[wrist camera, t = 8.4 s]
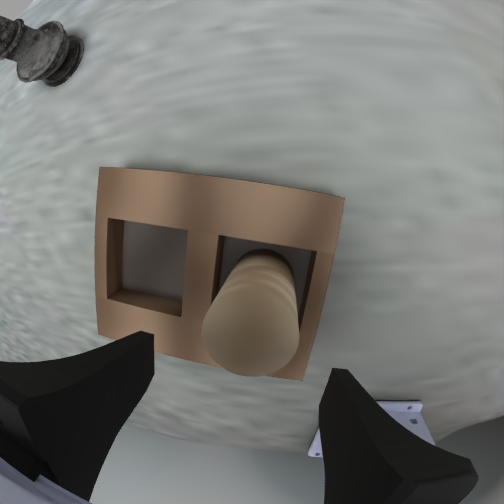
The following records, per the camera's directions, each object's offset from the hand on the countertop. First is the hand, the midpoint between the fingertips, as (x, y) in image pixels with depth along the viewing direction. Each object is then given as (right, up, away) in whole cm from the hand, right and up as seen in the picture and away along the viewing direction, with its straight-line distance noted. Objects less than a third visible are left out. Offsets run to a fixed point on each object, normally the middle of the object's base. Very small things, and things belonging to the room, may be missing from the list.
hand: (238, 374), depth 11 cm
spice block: (-2, +4, +10) cm, 11 cm away
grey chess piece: (-17, +22, +8) cm, 29 cm away
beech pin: (+1, +3, +9) cm, 9 cm away
